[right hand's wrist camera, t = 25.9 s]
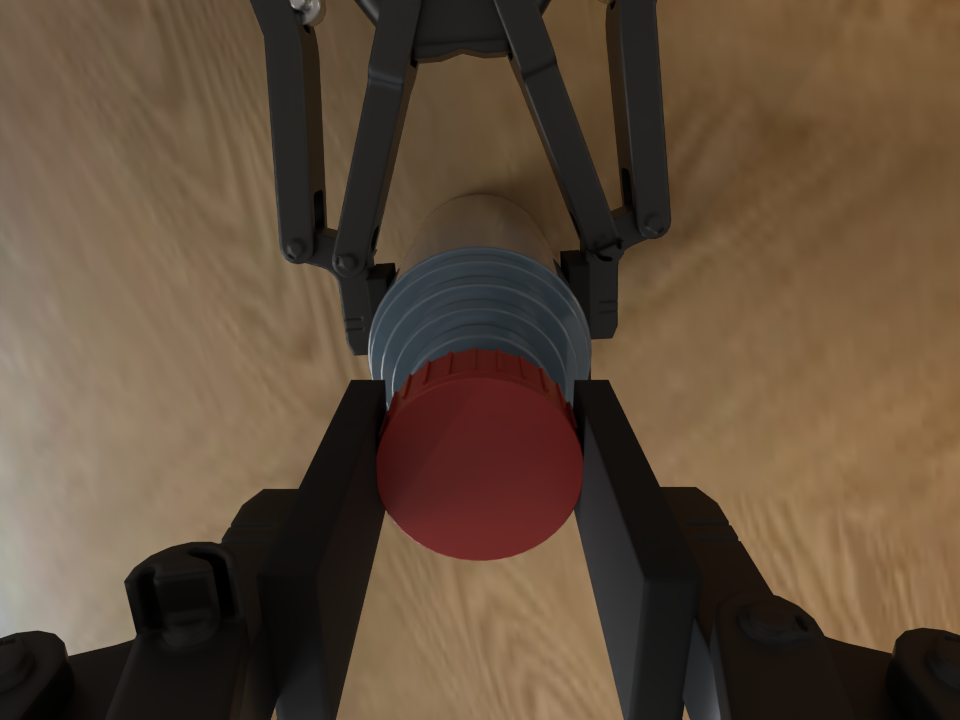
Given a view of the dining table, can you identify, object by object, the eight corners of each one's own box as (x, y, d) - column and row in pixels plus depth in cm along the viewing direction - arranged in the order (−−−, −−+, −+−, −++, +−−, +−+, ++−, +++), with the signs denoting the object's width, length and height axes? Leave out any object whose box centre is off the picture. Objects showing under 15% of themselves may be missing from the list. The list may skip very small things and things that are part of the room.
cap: (564, 522, 15) (574, 568, 14) (381, 512, 15) (370, 557, 14) (587, 352, 14) (601, 382, 12) (384, 339, 14) (372, 368, 12)
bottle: (517, 347, 33) (561, 615, 15) (393, 302, 32) (287, 531, 15) (570, 223, 31) (691, 370, 13) (437, 172, 30) (377, 254, 12)
